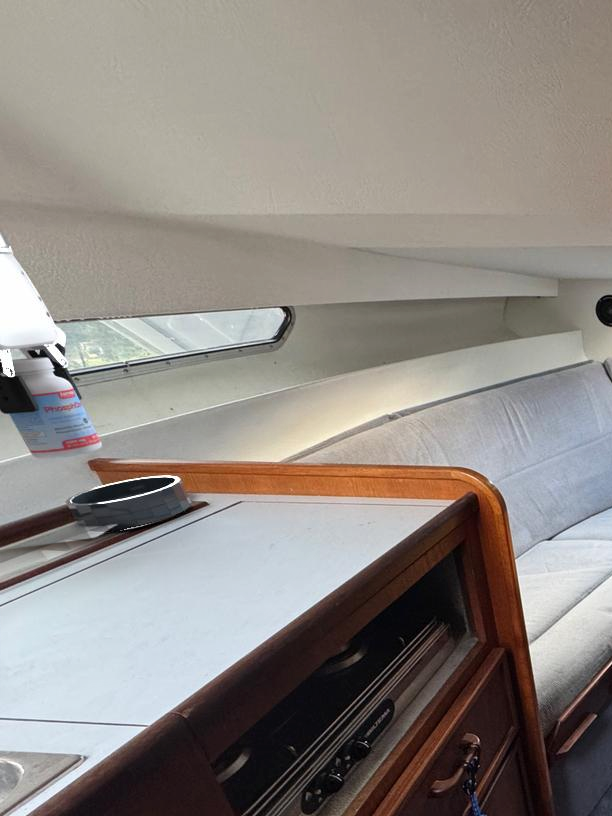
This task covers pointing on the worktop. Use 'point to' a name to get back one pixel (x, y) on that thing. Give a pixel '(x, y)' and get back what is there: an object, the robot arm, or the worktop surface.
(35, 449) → the pill bottle
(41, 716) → the worktop surface
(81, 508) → the bowl
